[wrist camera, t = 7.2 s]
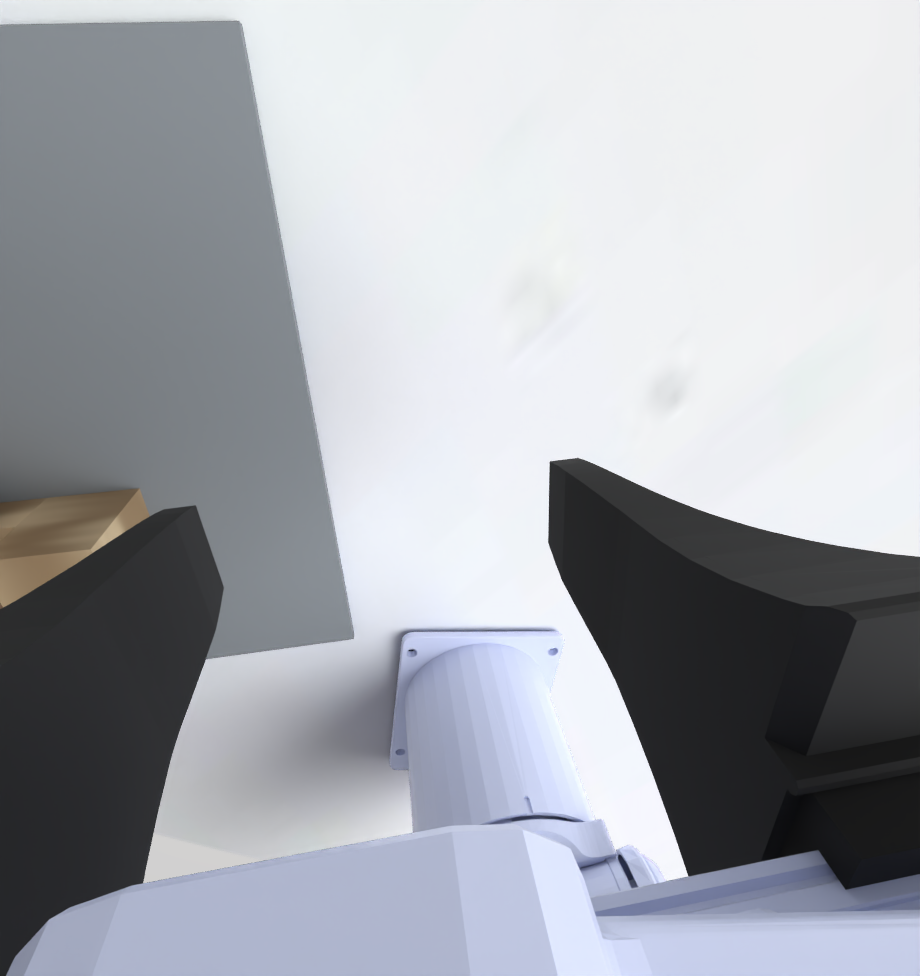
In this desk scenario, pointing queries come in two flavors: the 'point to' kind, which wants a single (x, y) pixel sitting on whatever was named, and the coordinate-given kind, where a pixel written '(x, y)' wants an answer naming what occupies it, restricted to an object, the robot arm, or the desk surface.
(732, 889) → the robot arm
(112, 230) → the slate mat
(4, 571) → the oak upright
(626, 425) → the desk surface
